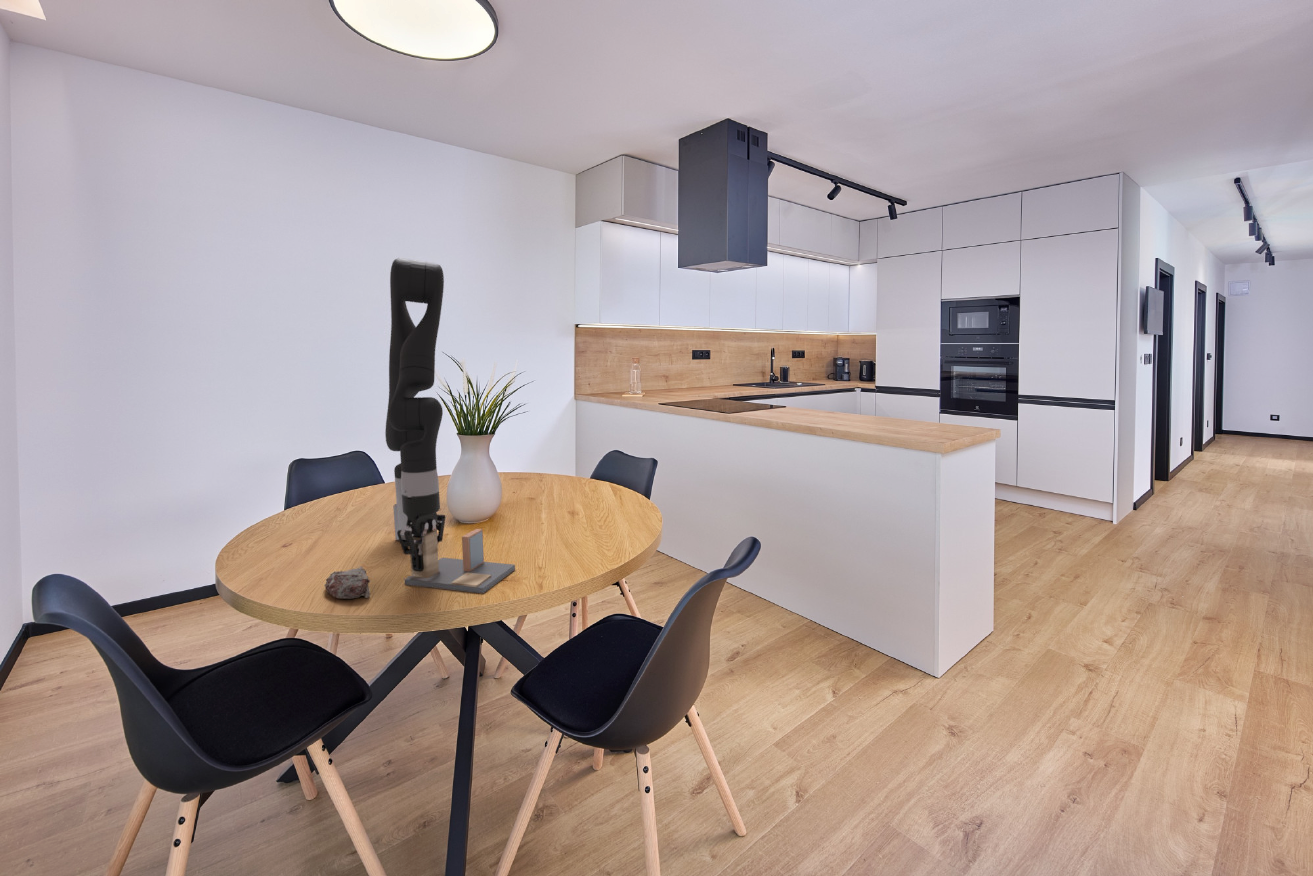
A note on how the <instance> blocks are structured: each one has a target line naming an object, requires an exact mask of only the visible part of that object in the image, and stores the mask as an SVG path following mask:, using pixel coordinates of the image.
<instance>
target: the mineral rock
mask: <svg viewBox="0 0 1313 876" xmlns="http://www.w3.org/2000/svg"><path fill="white" fill-rule="evenodd" d="M325 581H326V582H325V584H324V587H325V590H326V591H327V592H326V593H327V594H328V595H329V594H330V595H331V596H332V597H334V598H335V599H341V600H342V599H343V600H344V599H345V600H346V599H348V600H354V599H358V598H360V597H364V598H366V599H367V598H370V596H371V593H370V592H371V589H370V587H369V584H370V583H371V579H369V577H368V575H367V570H366V569H364V568H363V566H359V567H356V568H352V569H348V570H344V571H343V570H340V571H333V572H332V573H330V574H329V576H328V577H327V578H326V579H325Z"/></svg>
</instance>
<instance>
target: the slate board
mask: <svg viewBox="0 0 1313 876" xmlns="http://www.w3.org/2000/svg"><path fill="white" fill-rule="evenodd" d="M438 563H439V571H440V574H439V575H438V576H436V577H434V578H433V579H431V580H429V581H422V580H413V579H410V577H411V576H412V574H411V575H409V576H407V577H406V578H404V579H403V580H404V585H407V586H415V587H423V588H424V587H425V588H431V589H433V588H435V589H439V590H440V589H441V590H442V589H443V590H449V591H451V590H452V591H458V592H459V591H460V592H467V593H468V592H469V593H478V594H485V593H486V592H487V591H489V590H490V589H491V588H493V587H494V586H495V585H496V584H498V583H500V582H501V581H502V580H503V579H505V578H506V577H508V575H510V574H511V573H513V572H514V571H515V570H516V564H511V563H503V562H502V563H501V562H493V561H491V562H489V561H484V563H482V564H481V565H479V566H478V567H476V568H475V569H473V570H472V571H470V572H468V571H463V558H461V559H460V558H449V557H441V558H438ZM467 572H468V573H477V574H487V575H491V577H490V578H489V579H487V580H486V581H485V582H483V583H482V584H480V585H479V586H478V587H470V586H461V585H452V584H451V582H453V581H454V580H456V579H458V578H459V577H461V576H462V575H464V574H465V573H467Z"/></svg>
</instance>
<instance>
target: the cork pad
mask: <svg viewBox="0 0 1313 876" xmlns="http://www.w3.org/2000/svg"><path fill="white" fill-rule="evenodd" d="M490 577H491V575H487V574H477V573H468V572H467V573H465V574H464V575H462V576H461V577H459V578H458V579H456V580H454V581H453V582H451V584H452V585H461V586H470V587H478V586H479V585H480V584H482V583H483V582H485V581H486V580H487V579H489V578H490Z"/></svg>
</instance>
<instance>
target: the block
mask: <svg viewBox="0 0 1313 876" xmlns="http://www.w3.org/2000/svg"><path fill="white" fill-rule="evenodd" d="M437 533H438V530H435V531H430V532H428V533H427V534H426V535H425V536H424V541H425V542H424V544H423V552H422V554H423V565H424V570H423V571H421V572H419V571H414V570H413V568H412V556H411V555H410V554H409V555H410V570H411V575H412V576H411V575H410V576H411V577H410V579H413V580H422V581H429V580H431V579H433V578H434V577H436V576H438V575H439V574H440V571H439V563H438V560H439V548H438V547H439V545H438V546H437ZM412 537H413V536H412ZM413 539H414V540H420V538H415V537H413ZM415 546H416V549H418V544H415Z"/></svg>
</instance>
